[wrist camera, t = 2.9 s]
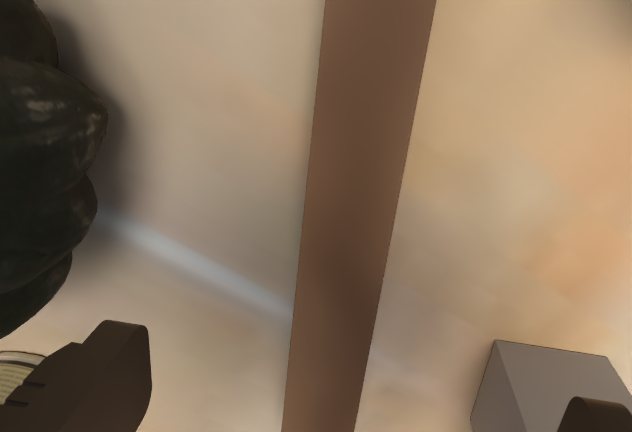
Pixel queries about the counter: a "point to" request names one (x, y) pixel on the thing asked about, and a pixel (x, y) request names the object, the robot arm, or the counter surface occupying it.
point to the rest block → (540, 387)
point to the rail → (351, 200)
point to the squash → (40, 163)
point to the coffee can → (15, 370)
